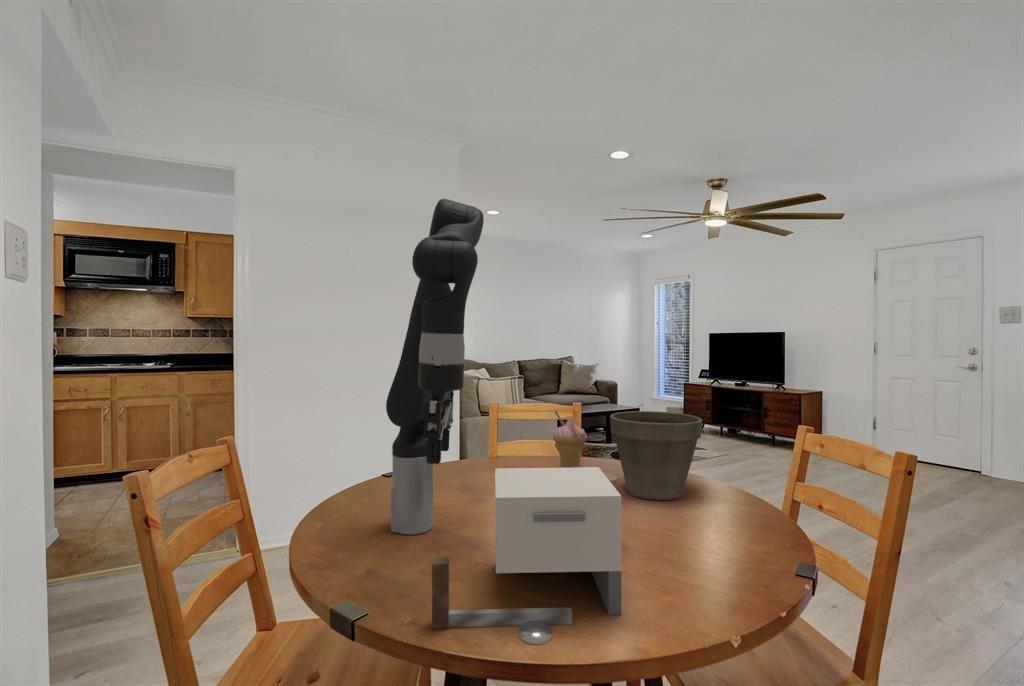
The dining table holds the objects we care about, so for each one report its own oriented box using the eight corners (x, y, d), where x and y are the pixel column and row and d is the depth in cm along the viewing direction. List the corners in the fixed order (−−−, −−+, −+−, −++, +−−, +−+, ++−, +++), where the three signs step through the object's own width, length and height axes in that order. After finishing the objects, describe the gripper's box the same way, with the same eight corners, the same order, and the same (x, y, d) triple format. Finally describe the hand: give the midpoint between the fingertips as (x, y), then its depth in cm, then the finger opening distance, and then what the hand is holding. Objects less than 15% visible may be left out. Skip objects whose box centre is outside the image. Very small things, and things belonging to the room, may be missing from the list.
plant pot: (658, 476, 164) (658, 407, 164) (722, 498, 142) (722, 418, 142) (592, 487, 153) (592, 413, 152) (651, 513, 131) (651, 426, 130)
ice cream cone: (558, 479, 161) (558, 414, 161) (548, 470, 172) (548, 409, 171) (592, 477, 163) (592, 413, 163) (580, 468, 174) (580, 408, 174)
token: (519, 646, 76) (518, 640, 76) (518, 627, 81) (518, 621, 81) (553, 646, 76) (553, 640, 76) (551, 627, 81) (550, 620, 81)
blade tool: (432, 629, 79) (431, 564, 79) (434, 621, 82) (433, 557, 82) (572, 626, 80) (572, 561, 80) (570, 618, 83) (570, 555, 82)
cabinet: (495, 620, 82) (495, 499, 82) (495, 566, 101) (495, 468, 100) (622, 617, 83) (622, 498, 82) (598, 564, 102) (598, 467, 101)
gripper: (427, 357, 95) (424, 446, 95) (409, 362, 81) (406, 466, 81) (469, 359, 95) (465, 448, 95) (458, 364, 80) (454, 469, 81)
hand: (438, 456), depth 88 cm, fingers open, 8 cm apart
